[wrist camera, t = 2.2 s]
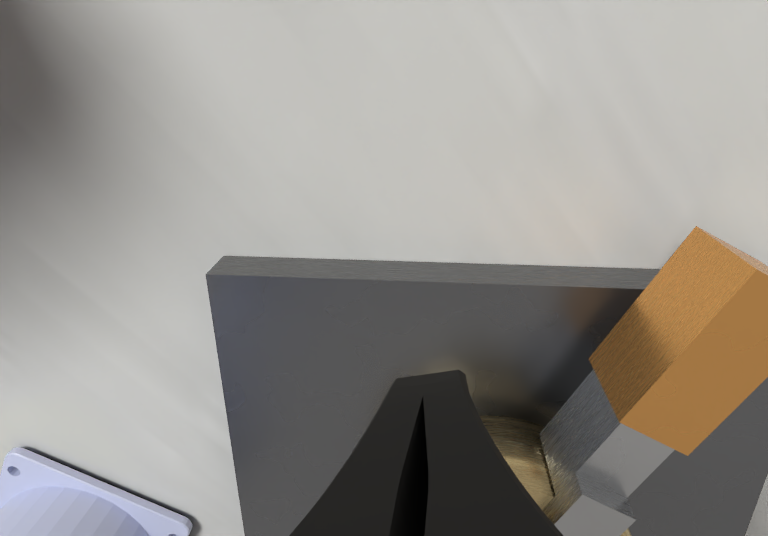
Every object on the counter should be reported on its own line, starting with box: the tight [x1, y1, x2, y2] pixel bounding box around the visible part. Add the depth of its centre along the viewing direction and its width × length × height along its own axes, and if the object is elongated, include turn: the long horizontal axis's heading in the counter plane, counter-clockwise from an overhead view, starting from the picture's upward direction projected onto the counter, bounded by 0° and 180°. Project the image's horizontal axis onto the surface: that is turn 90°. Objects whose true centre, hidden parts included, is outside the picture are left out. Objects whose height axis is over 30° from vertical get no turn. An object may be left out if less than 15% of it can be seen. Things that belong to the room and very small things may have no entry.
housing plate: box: [206, 256, 768, 536], centre depth 20 cm, size 18×18×2 cm
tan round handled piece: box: [480, 226, 768, 536], centre depth 15 cm, size 16×9×4 cm, turn 153°
